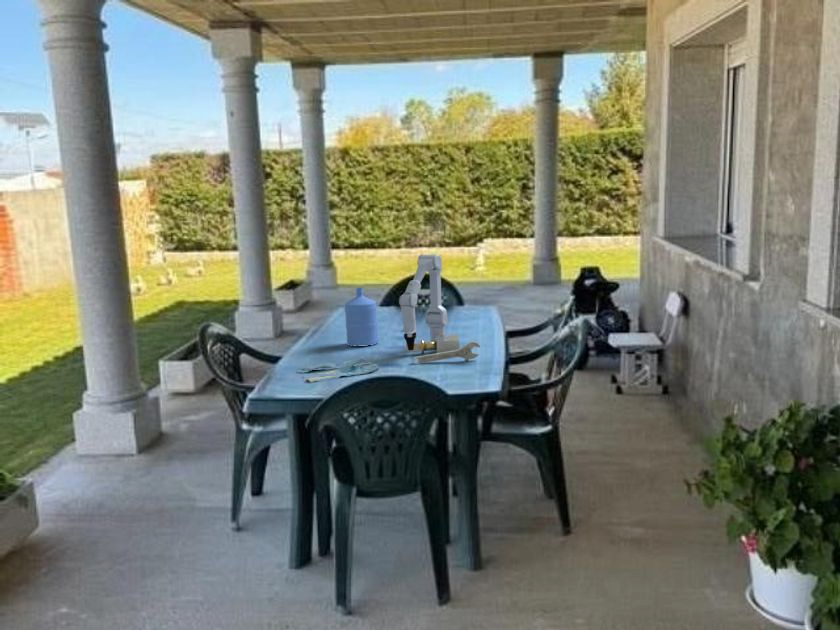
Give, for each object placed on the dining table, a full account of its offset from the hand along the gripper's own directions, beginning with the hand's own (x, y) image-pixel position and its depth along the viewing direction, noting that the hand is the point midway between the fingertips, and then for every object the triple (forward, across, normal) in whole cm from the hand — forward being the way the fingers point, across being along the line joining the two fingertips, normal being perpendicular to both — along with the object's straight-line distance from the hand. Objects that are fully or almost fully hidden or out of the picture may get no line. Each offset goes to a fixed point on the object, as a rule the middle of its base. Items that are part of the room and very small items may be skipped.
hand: (410, 349), depth 349 cm
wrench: (+3, +18, +16) cm, 24 cm away
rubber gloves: (+3, +23, -31) cm, 39 cm away
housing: (+2, 0, +17) cm, 17 cm away
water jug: (+3, -30, -24) cm, 39 cm away
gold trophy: (+2, 0, +5) cm, 5 cm away
